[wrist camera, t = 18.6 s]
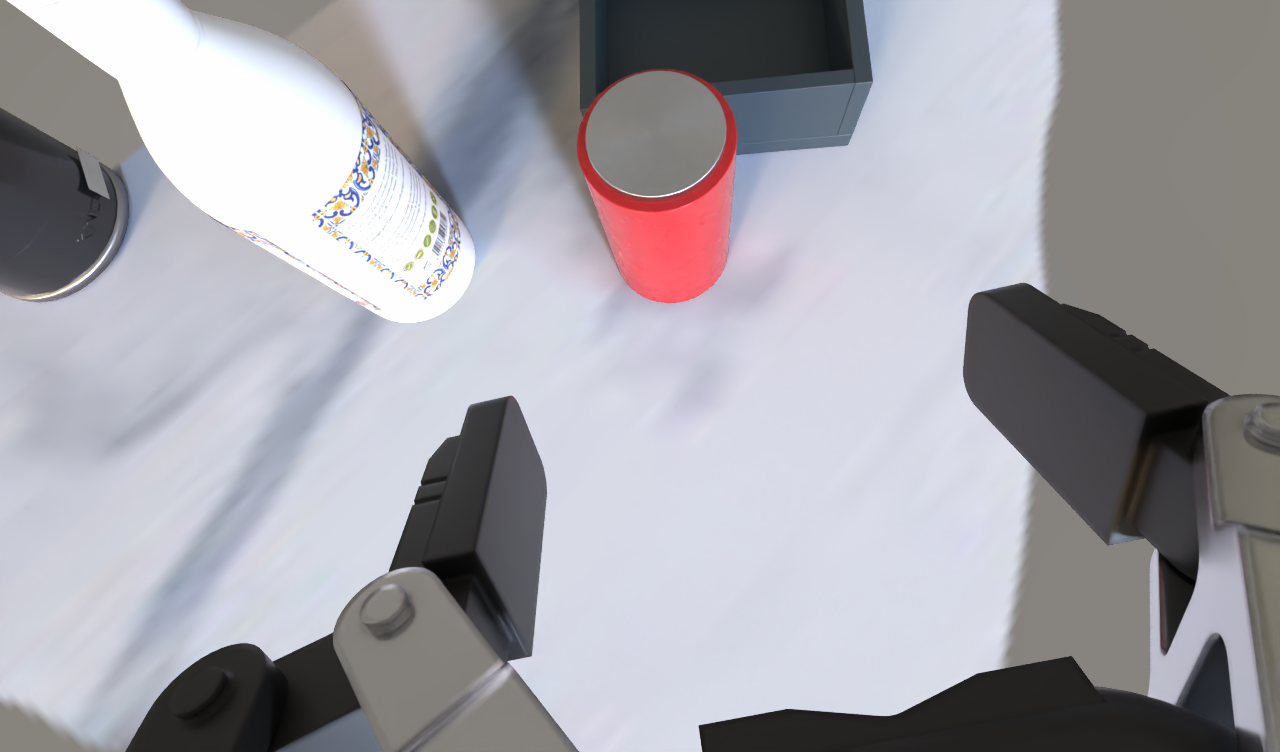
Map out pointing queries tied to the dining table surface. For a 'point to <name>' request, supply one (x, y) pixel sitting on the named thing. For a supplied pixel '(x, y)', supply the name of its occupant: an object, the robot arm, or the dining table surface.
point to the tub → (742, 61)
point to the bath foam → (275, 150)
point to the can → (662, 179)
